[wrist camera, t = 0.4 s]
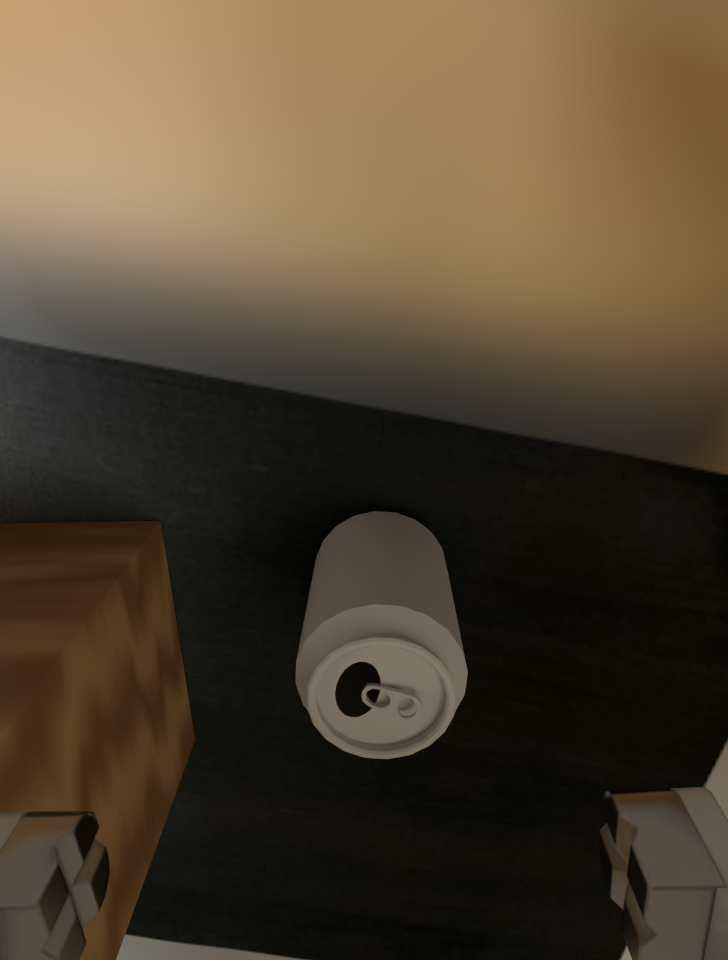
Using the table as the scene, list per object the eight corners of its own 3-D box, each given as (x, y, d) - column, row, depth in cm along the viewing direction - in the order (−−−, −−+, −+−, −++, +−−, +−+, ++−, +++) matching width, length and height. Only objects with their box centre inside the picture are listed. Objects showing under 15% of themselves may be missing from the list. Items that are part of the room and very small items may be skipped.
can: (330, 492, 36) (308, 611, 25) (460, 519, 36) (495, 648, 25) (305, 604, 39) (275, 757, 28) (426, 629, 39) (446, 789, 28)
